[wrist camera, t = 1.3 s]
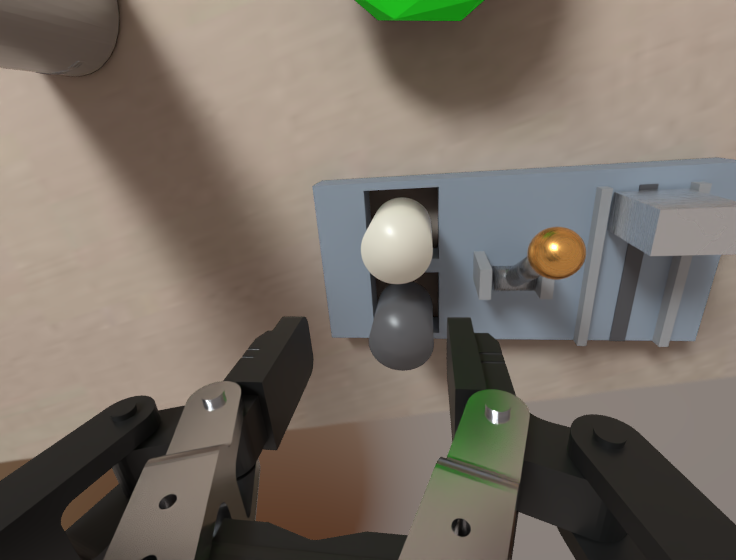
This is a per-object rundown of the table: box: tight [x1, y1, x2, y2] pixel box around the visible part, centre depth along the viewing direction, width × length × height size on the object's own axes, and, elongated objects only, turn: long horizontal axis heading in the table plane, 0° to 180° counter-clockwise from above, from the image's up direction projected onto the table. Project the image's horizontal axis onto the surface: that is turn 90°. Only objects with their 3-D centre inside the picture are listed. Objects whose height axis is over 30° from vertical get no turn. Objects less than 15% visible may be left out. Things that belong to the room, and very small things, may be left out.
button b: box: [369, 282, 434, 370], centre depth 26 cm, size 4×4×5 cm
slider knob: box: [608, 188, 736, 256], centre depth 21 cm, size 2×4×5 cm, turn 94°
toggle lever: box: [492, 227, 586, 291], centre depth 20 cm, size 2×2×10 cm
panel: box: [313, 158, 736, 347], centre depth 26 cm, size 12×26×6 cm, turn 94°
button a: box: [361, 197, 433, 284], centre depth 23 cm, size 4×4×5 cm
